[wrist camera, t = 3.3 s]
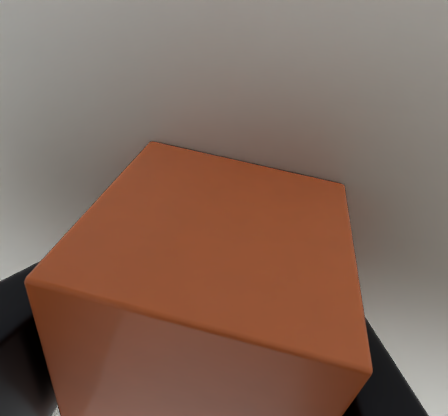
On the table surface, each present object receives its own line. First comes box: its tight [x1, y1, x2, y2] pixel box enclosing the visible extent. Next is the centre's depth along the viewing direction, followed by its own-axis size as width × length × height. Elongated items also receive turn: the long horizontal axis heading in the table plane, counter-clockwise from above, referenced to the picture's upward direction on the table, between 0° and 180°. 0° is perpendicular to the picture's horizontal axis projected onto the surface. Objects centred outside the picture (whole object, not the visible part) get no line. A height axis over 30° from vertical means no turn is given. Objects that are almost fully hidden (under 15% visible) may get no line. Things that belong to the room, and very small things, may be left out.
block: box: [24, 141, 373, 416], centre depth 7 cm, size 4×4×4 cm
